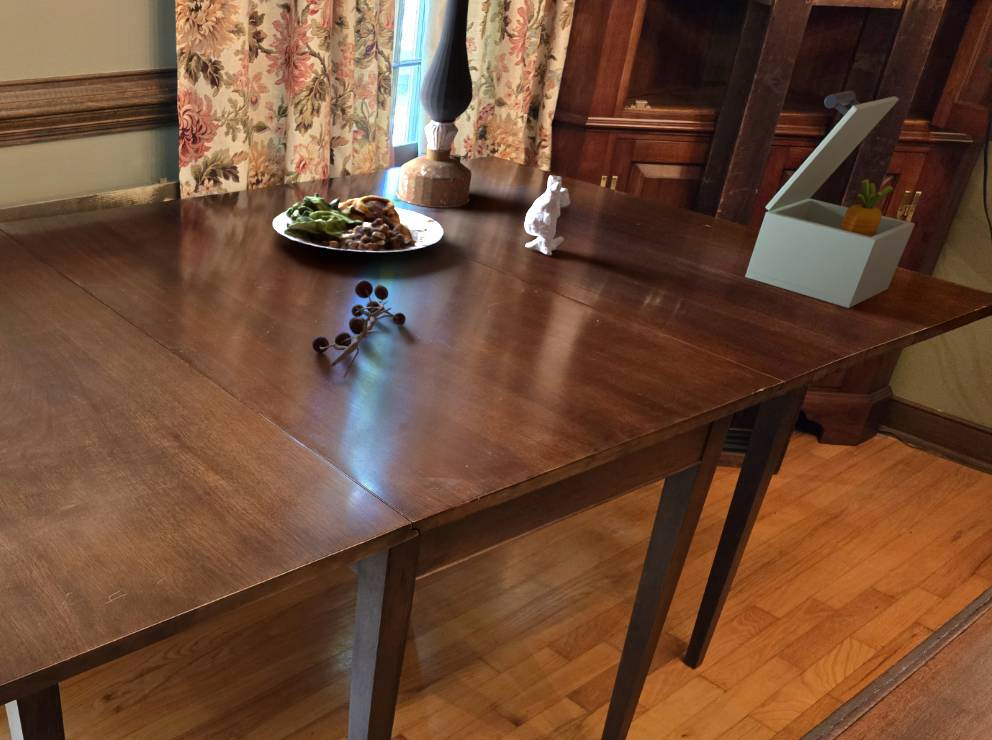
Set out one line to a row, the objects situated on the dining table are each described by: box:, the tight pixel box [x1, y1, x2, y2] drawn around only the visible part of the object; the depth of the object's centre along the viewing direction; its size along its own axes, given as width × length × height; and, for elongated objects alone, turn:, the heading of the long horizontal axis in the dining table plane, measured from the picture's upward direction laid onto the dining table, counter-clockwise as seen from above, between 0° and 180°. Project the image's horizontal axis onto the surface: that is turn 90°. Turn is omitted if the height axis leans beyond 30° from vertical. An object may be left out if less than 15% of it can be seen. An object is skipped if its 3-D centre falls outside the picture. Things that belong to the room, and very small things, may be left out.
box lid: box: [765, 90, 900, 211], centre depth 142 cm, size 17×14×6 cm
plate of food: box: [272, 192, 444, 253], centre depth 157 cm, size 28×28×6 cm
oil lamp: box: [396, 0, 474, 209], centre depth 169 cm, size 14×15×40 cm
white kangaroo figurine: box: [524, 174, 571, 256], centre depth 154 cm, size 8×7×12 cm
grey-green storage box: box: [744, 197, 916, 309], centre depth 146 cm, size 16×14×10 cm
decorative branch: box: [311, 279, 407, 379], centre depth 122 cm, size 11×9×30 cm
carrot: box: [840, 179, 894, 237], centre depth 142 cm, size 5×5×15 cm
